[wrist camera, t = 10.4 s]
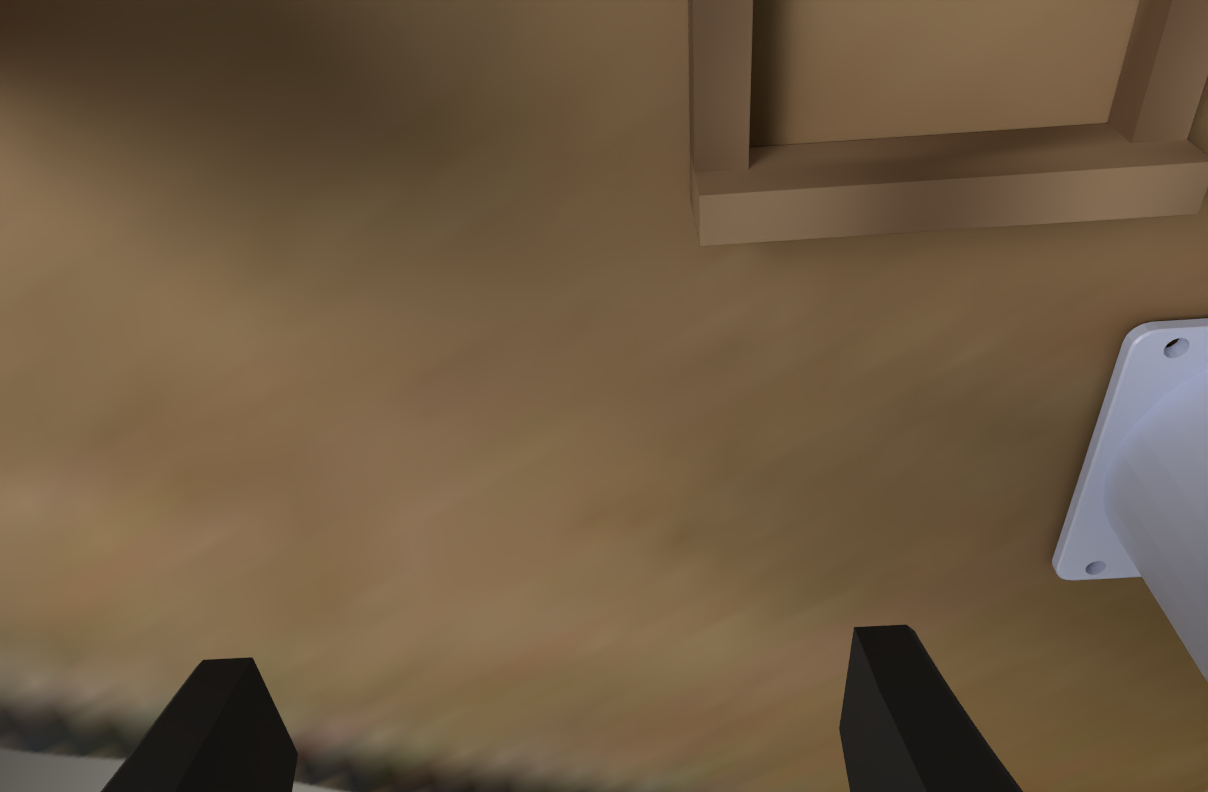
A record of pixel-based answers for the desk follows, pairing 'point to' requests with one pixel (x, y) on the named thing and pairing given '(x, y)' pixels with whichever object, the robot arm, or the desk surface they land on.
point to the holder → (947, 150)
